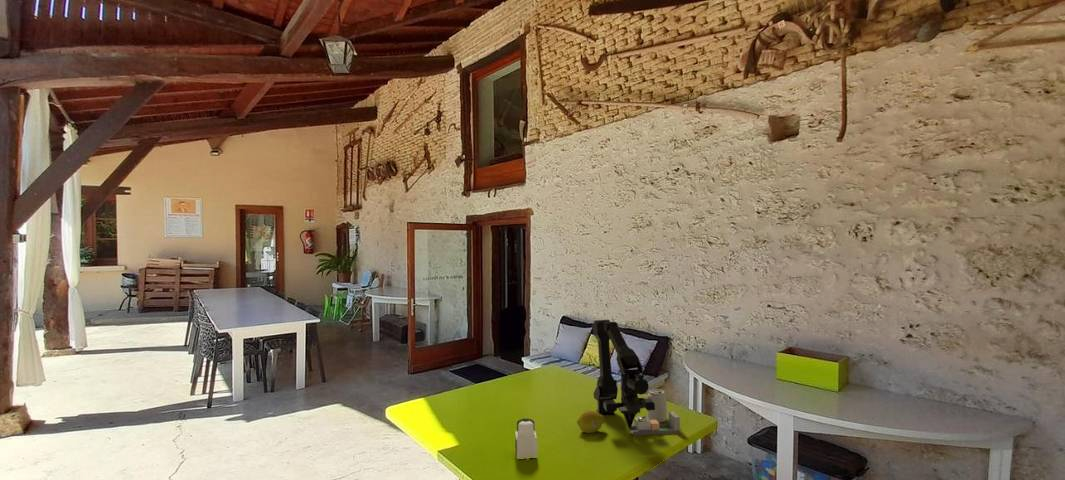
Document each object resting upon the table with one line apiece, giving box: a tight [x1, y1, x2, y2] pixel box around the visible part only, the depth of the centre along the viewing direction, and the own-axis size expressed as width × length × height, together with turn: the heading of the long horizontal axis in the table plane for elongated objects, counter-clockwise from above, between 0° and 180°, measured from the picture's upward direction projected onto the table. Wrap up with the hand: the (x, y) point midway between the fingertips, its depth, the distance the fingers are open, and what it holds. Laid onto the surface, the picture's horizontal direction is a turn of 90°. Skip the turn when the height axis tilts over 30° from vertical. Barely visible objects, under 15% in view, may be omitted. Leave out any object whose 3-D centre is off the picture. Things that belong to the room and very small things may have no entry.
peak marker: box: [650, 420, 660, 430], centre depth 183 cm, size 3×4×4 cm
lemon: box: [576, 410, 605, 434], centre depth 183 cm, size 11×8×8 cm
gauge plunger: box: [633, 415, 651, 431], centre depth 182 cm, size 5×4×5 cm
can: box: [647, 388, 668, 424], centre depth 194 cm, size 8×8×12 cm
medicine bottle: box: [514, 418, 538, 459], centre depth 164 cm, size 7×7×12 cm
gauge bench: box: [628, 410, 681, 436], centre depth 183 cm, size 18×6×6 cm, turn 94°
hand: (629, 427), depth 182 cm, fingers closed
